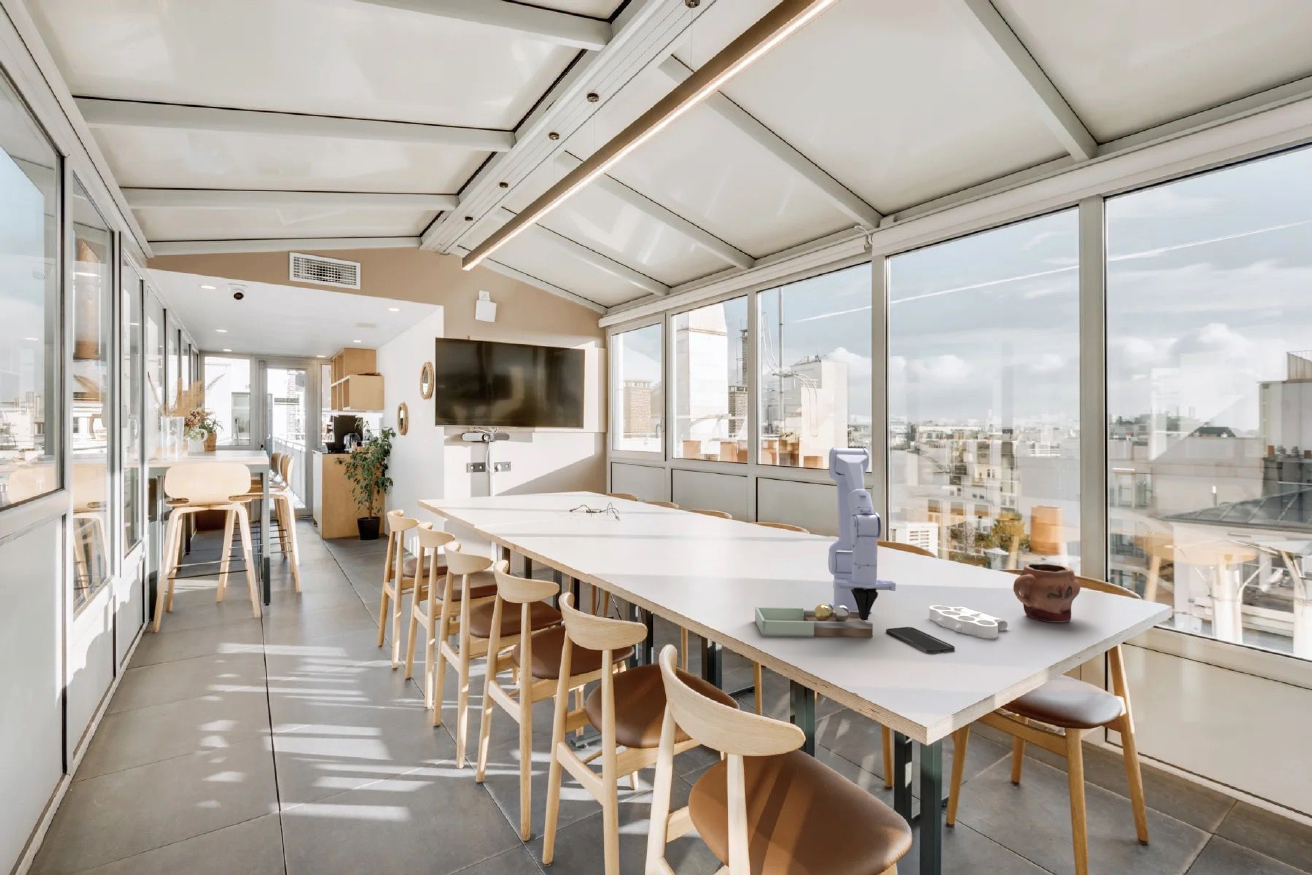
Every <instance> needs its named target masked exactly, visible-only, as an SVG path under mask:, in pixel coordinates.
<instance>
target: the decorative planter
mask: <svg viewBox="0 0 1312 875" xmlns="http://www.w3.org/2000/svg"><path fill="white" fill-rule="evenodd" d="M1074 572H1075V571H1073V569H1071V568H1069V567H1067V566H1064V565H1056V564H1048V563H1041V564H1040V563H1037V564H1036V563H1035V564H1034V563H1032V564H1026V565H1025V566H1024V567H1023V570H1022V572H1021V574H1020V575H1019V576H1018V577H1016V578H1015V579H1014V582H1013V585H1012V588H1013V590H1012V591H1013V593H1014V595H1015V596H1016V598H1017V599H1018V601H1020V602H1021V604H1022V605H1023V611H1024V613H1025V615H1026V616H1027V617H1029V618H1031V619H1034V620H1037V621H1042V622H1048V623H1065V622H1069V621H1071V620H1072V604H1073V602H1074V600H1075V599H1076V598H1077V597H1078V596H1079V594H1080V592H1081V584H1080V583H1079V581H1078V580H1077V578H1076V575H1075V573H1074Z"/></svg>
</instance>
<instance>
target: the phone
mask: <svg viewBox="0 0 1312 875" xmlns="http://www.w3.org/2000/svg"><path fill="white" fill-rule="evenodd" d="M885 633H886V634H887V635H889V636H891V637H893V638H895V639H897V640H899V641H901V642H903V643H905V644H907V645H908V646H910V647H913V648H915V649H917V650H919V651H922V652H923V653H926V654H929V655H933V654H943V653H951V652H952V653H953V652H955V650H956V648H955V646H954V645H952V644H950V643H948V642H946V641H945V640H944V641H943V640H941V639H939V638H936V637H935V636H932V635H931V634H929V633H927V632H924V631H922V630H919V629H918V628H915V627H913V626H902V627H901V626H900V627H891V628H886V630H885Z"/></svg>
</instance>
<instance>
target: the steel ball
mask: <svg viewBox="0 0 1312 875" xmlns="http://www.w3.org/2000/svg"><path fill="white" fill-rule="evenodd" d="M832 611H833V617H834V618H835V619H836V620H837V621H839V622H845V621H846V620H848V618H849V616H850V612H849V610H848V608H847V607H845V606H844V605H837V606H836V607H835V608H832Z"/></svg>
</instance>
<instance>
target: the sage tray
mask: <svg viewBox="0 0 1312 875" xmlns="http://www.w3.org/2000/svg"><path fill="white" fill-rule="evenodd" d="M754 609H755V610H754V611H755V616H754V619H755V620H754V621H755V623H756V624H757V627H758V629H759V632H760V634H761V636H762V637H784V638H785V637H787V638H788V637H790V638H794V637H795V638H814V637H815V636H814V622H813V621H803V610H804V608H803V607H776V606H775V607H774V606H773V607H772V606H769V607H768V606H767V607H766V606H755V608H754Z"/></svg>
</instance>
